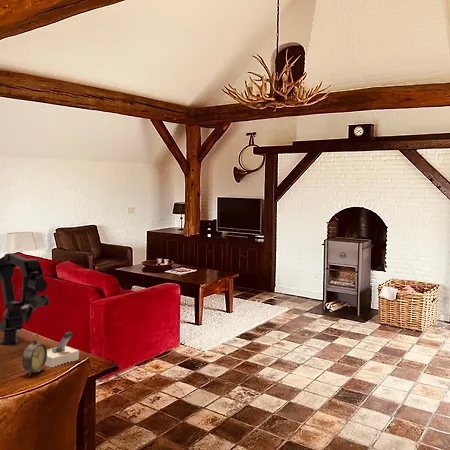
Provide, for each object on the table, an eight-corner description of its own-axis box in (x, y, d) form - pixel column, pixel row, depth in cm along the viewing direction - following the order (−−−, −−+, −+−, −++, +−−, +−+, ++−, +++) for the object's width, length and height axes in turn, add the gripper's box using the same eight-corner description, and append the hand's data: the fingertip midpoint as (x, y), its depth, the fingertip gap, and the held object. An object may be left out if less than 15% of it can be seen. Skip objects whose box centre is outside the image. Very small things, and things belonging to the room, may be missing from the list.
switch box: (36, 361, 200) (37, 348, 199) (62, 354, 212) (63, 341, 211) (52, 367, 195) (53, 354, 194) (78, 359, 207) (79, 346, 206)
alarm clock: (30, 379, 181) (33, 337, 180) (18, 377, 182) (21, 335, 182) (46, 369, 192) (49, 330, 191) (34, 367, 193) (37, 328, 192)
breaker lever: (54, 349, 202) (64, 332, 199) (60, 348, 205) (70, 330, 201) (57, 353, 201) (67, 335, 198) (63, 351, 204) (73, 334, 201)
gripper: (22, 293, 197) (19, 330, 198) (58, 288, 213) (55, 322, 214) (5, 288, 203) (3, 324, 204) (42, 284, 219) (39, 317, 220)
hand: (26, 322), depth 210 cm, fingers closed
